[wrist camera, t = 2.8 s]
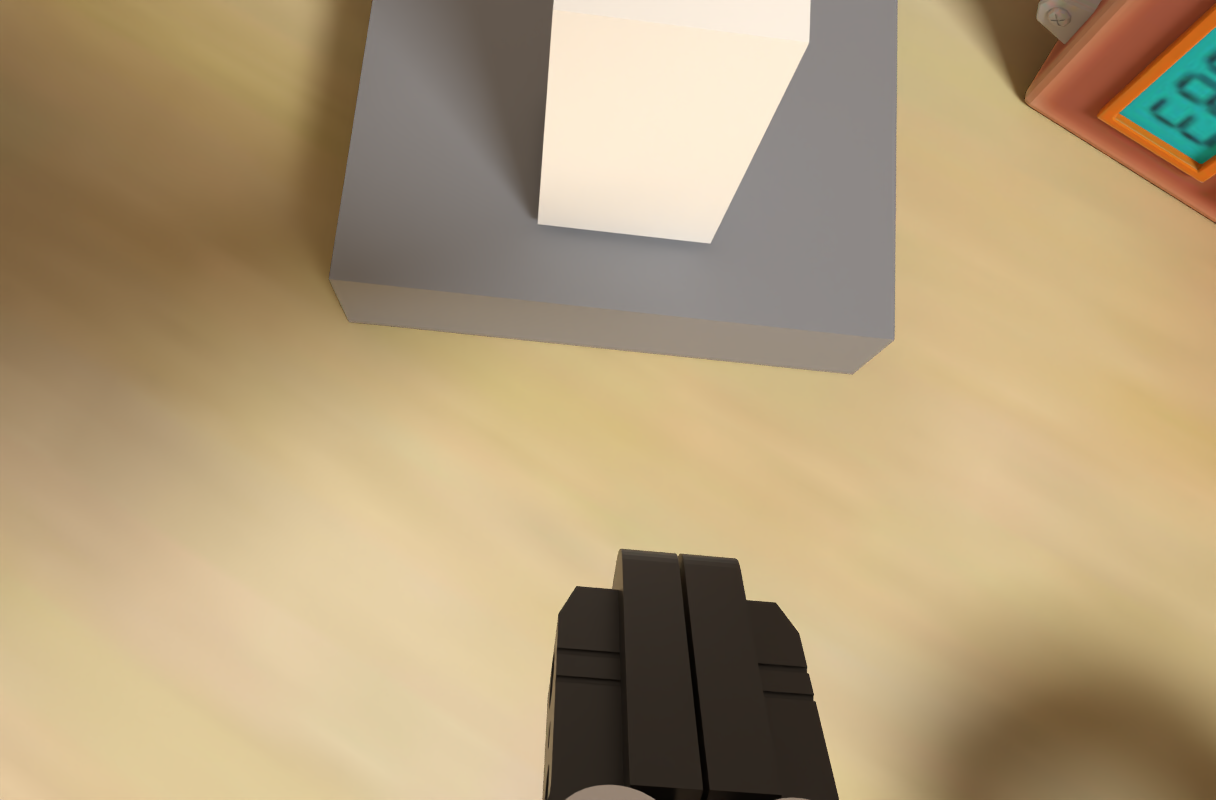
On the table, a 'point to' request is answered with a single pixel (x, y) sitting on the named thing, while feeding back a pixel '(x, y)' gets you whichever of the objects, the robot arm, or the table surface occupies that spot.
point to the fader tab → (661, 109)
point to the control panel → (1137, 87)
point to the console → (604, 261)
